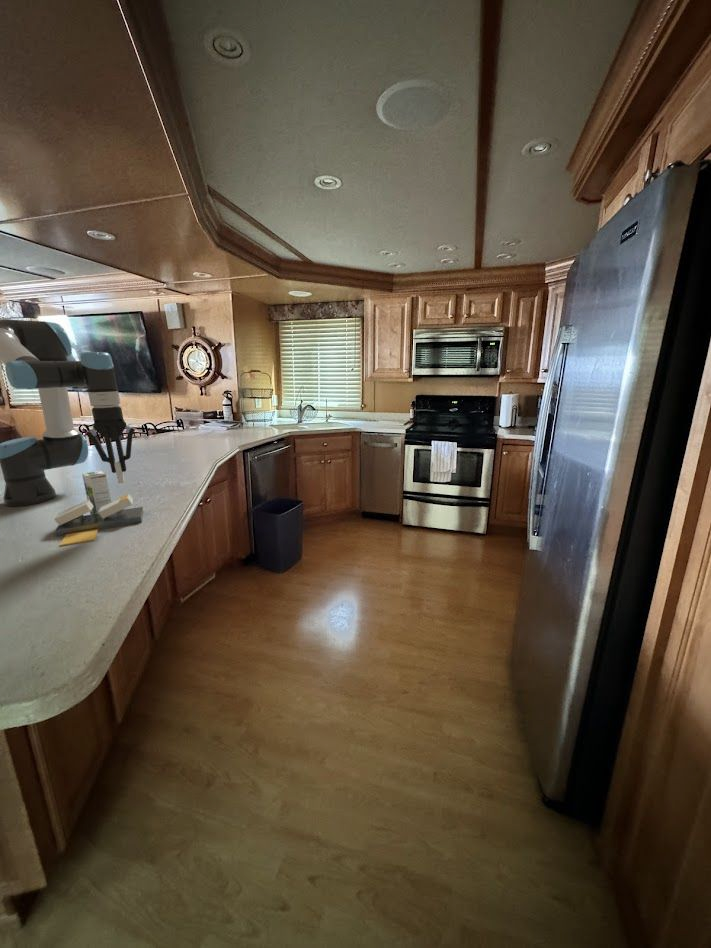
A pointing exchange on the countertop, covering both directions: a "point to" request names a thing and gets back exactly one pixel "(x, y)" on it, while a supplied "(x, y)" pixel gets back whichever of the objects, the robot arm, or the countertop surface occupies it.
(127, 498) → the rocker
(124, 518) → the breaker panel
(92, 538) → the pad
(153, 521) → the countertop surface
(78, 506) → the white flat block
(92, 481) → the syrup box
